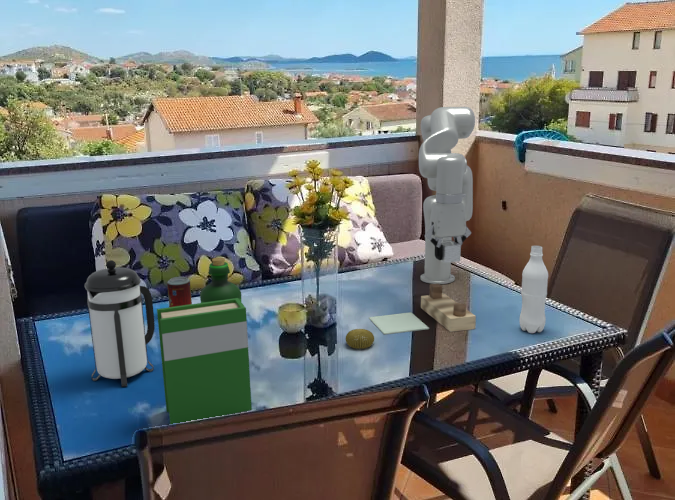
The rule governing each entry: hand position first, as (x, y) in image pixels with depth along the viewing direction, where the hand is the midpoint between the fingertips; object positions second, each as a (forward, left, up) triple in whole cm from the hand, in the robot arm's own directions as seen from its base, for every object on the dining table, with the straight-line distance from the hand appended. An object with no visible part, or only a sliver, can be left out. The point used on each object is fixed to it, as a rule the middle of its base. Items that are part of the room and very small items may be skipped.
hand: (447, 257), depth 188 cm
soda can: (-28, -79, -19) cm, 86 cm away
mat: (0, -16, -19) cm, 25 cm away
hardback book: (+37, -75, -20) cm, 86 cm away
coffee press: (+11, -94, -19) cm, 96 cm away
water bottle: (+17, +19, -19) cm, 32 cm away
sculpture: (+12, -32, -20) cm, 39 cm away
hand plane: (0, 0, -19) cm, 19 cm away
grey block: (0, 0, 0) cm, 0 cm away
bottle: (+12, -69, -19) cm, 72 cm away
